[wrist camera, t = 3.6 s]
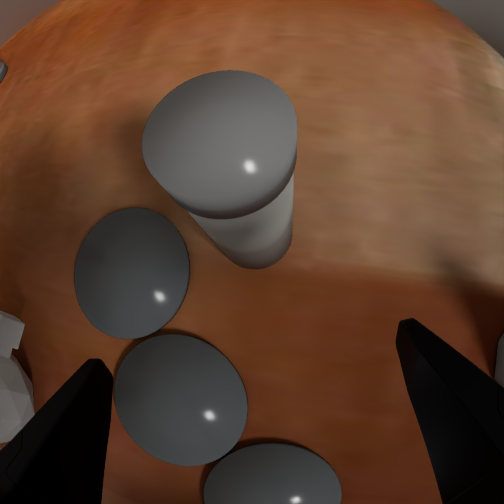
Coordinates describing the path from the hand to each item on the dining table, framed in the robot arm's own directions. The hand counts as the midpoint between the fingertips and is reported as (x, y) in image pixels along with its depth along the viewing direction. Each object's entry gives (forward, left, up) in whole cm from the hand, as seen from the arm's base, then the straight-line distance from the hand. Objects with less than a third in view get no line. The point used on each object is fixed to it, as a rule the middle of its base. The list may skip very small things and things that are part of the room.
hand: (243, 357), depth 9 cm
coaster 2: (-10, -8, -13) cm, 18 cm away
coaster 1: (-3, +11, -13) cm, 17 cm away
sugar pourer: (+5, +5, -13) cm, 15 cm away
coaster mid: (-8, +2, -13) cm, 15 cm away
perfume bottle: (-18, +14, -13) cm, 26 cm away
